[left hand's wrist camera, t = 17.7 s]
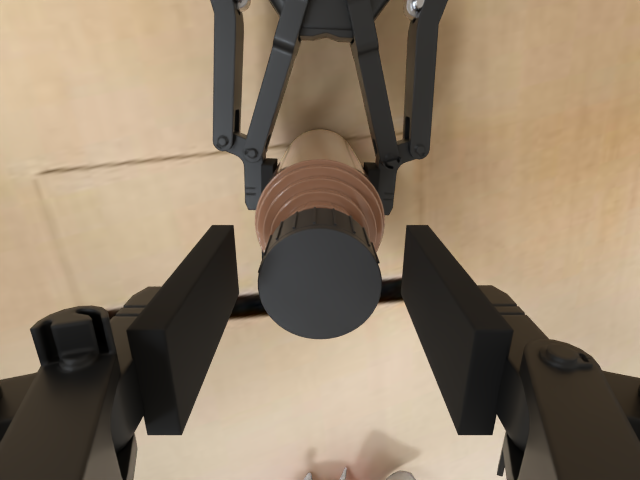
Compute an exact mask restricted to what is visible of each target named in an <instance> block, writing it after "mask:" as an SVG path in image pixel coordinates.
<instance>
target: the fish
mask: <svg viewBox="0 0 640 480" xmlns="http://www.w3.org/2000/svg"><path fill="white" fill-rule="evenodd" d="M346 470H347V468H346V467H345V469H344V471H343V473H342V475H341V478H340V480H345V478H346ZM304 480H312V475H311V473H308V474H307V475H306V477H305V479H304ZM386 480H416V479H415V478H414V476H413V475H412V474H411V473H409V472H406V471H398V472H395V473H393V474H392V475H390V476H389V477H388V478H387V479H386Z"/></svg>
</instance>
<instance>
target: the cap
mask: <svg viewBox="0 0 640 480" xmlns="http://www.w3.org/2000/svg"><path fill="white" fill-rule="evenodd" d="M263 255H264V256H263V259H262V262H261V265H260V267H259V270H258V273H259V276H258V291H259V296H260V299H261V302H262V304H263V306H264V308H265V310H266V312H267V313H268V315H269V316H270V317H271V318H272V319H273V320H274V321H275V322H276V323H277V324H278V325H279V326H281V327H282V328H283V329H285V330H287V331H289V332H291V333H293V334H295V335H298V336H301V337H305V338H311V339H330V338H335V337H339V336H342V335H345V334H347V333H349V332H351V331H353V330H355V329H356V328H358V327H359V326H360V325H362V324H363V323H364V322H365V321H366V320H367V319H368V318H369V317H370V315H371V314H372V313H373V311H374V310H375V308H376V306H377V304H378V301H379V299H380V295H381V288H382V277H381V272H380V268H379V266H378V263H380V262H379V259H378V257H377V254H376V251H375V248H374V245H373V242H370V239H369V237H368V235H367V233H366V230H365V228H364V227H363V228H362V226H361V225H360V224H359V223H358V222H357V221H355V220H354V219H353V218H352V216H351V215H350V216H348V215H347V214H344V213H342V212H340V211H337V210H335V208H332V209H328V208H316V207H314V208H312V209H307V210H303V211H300V212H298V211H296V212H295V214H293V215H291V216H290V217H288V218H287V219H286V220H284V221H281V222H280V225H279V226H278V227H277V229H276V230H275V231H274V233H273V235H270V237H269V240H268V243H267V246H266V248H265V251H264V254H263Z"/></svg>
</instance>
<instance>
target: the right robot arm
mask: <svg viewBox="0 0 640 480" xmlns="http://www.w3.org/2000/svg"><path fill="white" fill-rule="evenodd" d="M269 1H270V3H271V4H272V6H273V7H274V9H275V11H276V12H277V14H278V16H279V17H280V19H279V22H278V26H277V29H276V32H275V36H274V41H273V47H272V51H271V54H270V58H269V61H268V65H267V68H266V72H265V75H264V79H263V82H262V86H261V89H260V93H259V96H258V99H257V103H256V106H255V110H254V113H253V117H252V120H251V124H250V127H249V131H248V134H247V135H245V134H242V133H240V124H241V97H242V69H243V41H244V23H243V15H242V12H243V11H245V10H247V9H248V8H249V6H250V4H251V0H211V4H212V7H213V11H214V91H213V144H214V146H215V147H216V148H217V149H218V150H220V151H227V152H229V153H232V154H234V155H236V156H238V157H239V158H241V160H242V161H243V163H244V175H245V203H246V205H247V208H248V210H256V208H257V204H258V201H259V198H260V196H261V194H262V192H263V190H264V189H265V187H266V185H267V183H268V182H269V180H270V178H271V177H272V175H273V173H274V171H275V170H276V168H277V159H272V158H266V152H267V148H268V145H269V141H270V138H271V135H272V132H273V129H274V125H275V122H276V119H277V116H278V112H279V109H280V106H281V103H282V99H283V96H284V93H285V90H286V87H287V83H288V80H289V77H290V74H291V70H292V67H293V64H294V61H295V58H296V55H297V53H298V50H299V47H300V44H301V40H310V41H314V40H318V39H322V38H329V39H332V40H335V41H338V42H350V46H351V50H352V55H353V58H354V61H355V65H356V70H357V74H358V79H359V83H360V88H361V92H362V97H363V101H364V106H365V110H366V115H367V119H368V124H369V129H370V133H371V138H372V142H373V147H374V151H375V156H376V163H369V162H364V170H365V172H366V173H367V175H368V177H369V179H370V180H371V182H372V184H373V185H374V187H375V189H376V191H377V192H378V194H379V197H380V199H381V201H382V205H383V208H384V215H389V214H390V212H391V210H392V208H393V199H394V190H395V181H396V173H397V170H398V168H399V167H400V165H402V164H403V163H405V162H408V161H411V160H414V159H423V158H425V157H426V156H427V155H428V153H429V150H430V136H431V122H432V108H433V94H434V80H435V66H436V52H437V38H438V24H439V22H440V19H441V17H442V14H443V11H444V9H445V6H446V4H447V1H448V0H404V7H403V11H404V14H405V16H406V17H407V18H408V19H410V20H411V22H410V26H409V31H408V39H407V60H406V81H405V102H404V124H403V140H400V141H397V142H396V137H395V131H394V126H393V121H392V116H391V111H390V106H389V101H388V96H387V91H386V86H385V81H384V76H383V71H382V66H381V61H380V56H379V46H378V39H377V34H376V29H375V24H374V21H375V19H376V18H377V17H378V15H379V14H380V13H381V11H382V10H383V9H384V7H385V6H386V4H387V3H388V2H389V0H269ZM263 254H264V252H263V251H262V259H263V256H264V255H263Z"/></svg>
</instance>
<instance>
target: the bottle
mask: <svg viewBox="0 0 640 480" xmlns="http://www.w3.org/2000/svg"><path fill="white" fill-rule="evenodd" d="M314 207H316V208H328V209H332V208H335V210H337V211H340V212H342V213H344V214H347V215H348V216H350V215H351V216H352V218H353V219H354V220H355V221H357V222H358V223H359V224H360V225H361V226H362V228H363V227H364V228H365V230H366V233H367V235H368V237H369V239H370V242H373V245H374V248H375V251H376V252H377V250H378V248H379V245H380V243H381V240H382V237H383V233H384V226H385V215H384V208H383V205H382V201H381V199H380V197H379V194H378V192H377V191H376V189H375V187H374V185H373V184H372V182H371V180H370V179H369V177H368V175H367V173H366V172H365V170H364V168H363V167H362V165H361V163H360V161H359V160H358V158H357V156H356V155H355V153H354V151H353V149H352V148H351V146H350V144H349V143H348V142H347V141H346V140H345V139H344V138H343V137H342V136H340V135H339V134H337V133H335V132H332V131H330V130H324V129H315V130H310V131H307V132H305V133H303V134H301V135H300V136H298V137H297V138H296V139H295V140H294V141H293V142H292V143H291V144H290V146H289V147H288V149H287V151H286V153H285V154H284V156H283V158H282V159H281V161H280V163H279V165H278V166H277V168H276V170H275V171H274V173H273V175H272V177H271V178H270V180H269V182H268V183H267V185H266V187H265V189H264V190H263V192H262V194H261V196H260V198H259V201H258V204H257V208H256V214H255V228H256V234H257V237H258V241H259V243H260V246H261V248H262V251H263V252H264V251H265V248H266V246H267V243H268V240H269V237H270V235H273V233H274V231H275V230H276V229H277V227H278V226H279V225H280V222H281V221H284V220H286V219H287V218H288V217H290V216H291V215H293V214H295V212H296V211H298V212H300V211H303V210H307V209H312V208H314Z"/></svg>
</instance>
